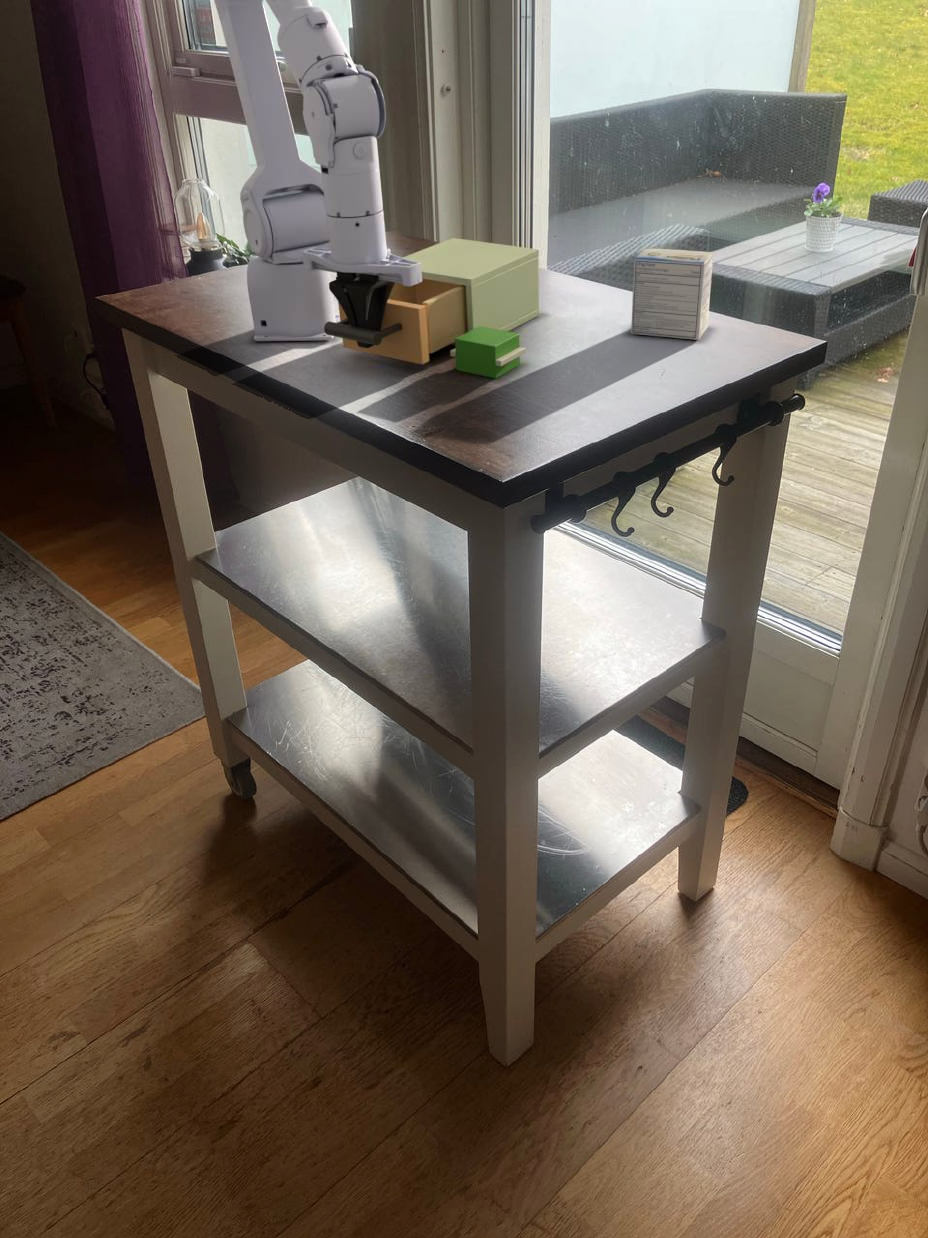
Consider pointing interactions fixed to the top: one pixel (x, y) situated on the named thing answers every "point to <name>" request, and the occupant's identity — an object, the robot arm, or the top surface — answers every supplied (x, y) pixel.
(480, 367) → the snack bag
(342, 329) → the drawer
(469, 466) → the top surface
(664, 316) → the medicine box
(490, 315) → the cabinet
